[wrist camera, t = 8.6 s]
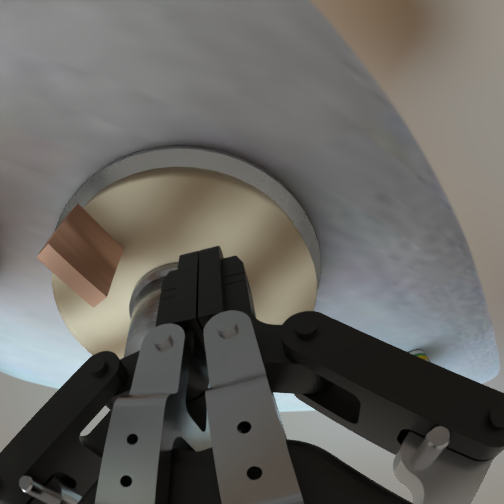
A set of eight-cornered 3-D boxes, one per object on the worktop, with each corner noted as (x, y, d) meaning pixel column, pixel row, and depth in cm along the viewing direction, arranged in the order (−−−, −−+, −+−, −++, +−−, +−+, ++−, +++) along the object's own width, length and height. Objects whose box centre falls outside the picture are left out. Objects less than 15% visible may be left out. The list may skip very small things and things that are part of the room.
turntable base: (14, 260, 21) (9, 267, 20) (213, 78, 17) (213, 79, 16) (175, 388, 32) (174, 396, 31) (354, 295, 28) (358, 302, 27)
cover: (108, 300, 20) (92, 357, 16) (194, 239, 19) (192, 295, 15) (182, 358, 24) (182, 412, 20) (264, 313, 23) (277, 370, 19)
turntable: (17, 271, 20) (-18, 328, 15) (198, 95, 16) (192, 110, 11) (177, 391, 30) (178, 447, 25) (347, 301, 26) (377, 359, 21)
